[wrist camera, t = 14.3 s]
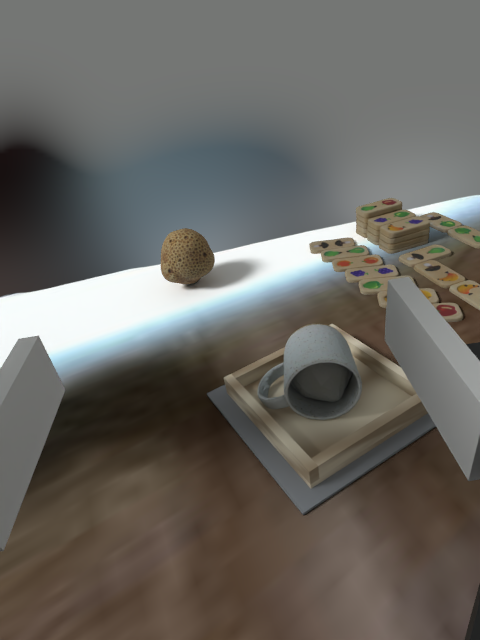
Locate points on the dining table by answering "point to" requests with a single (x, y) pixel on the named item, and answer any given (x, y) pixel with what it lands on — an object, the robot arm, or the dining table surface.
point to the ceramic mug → (315, 375)
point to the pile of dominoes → (398, 235)
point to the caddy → (332, 434)
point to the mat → (289, 477)
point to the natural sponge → (185, 257)
